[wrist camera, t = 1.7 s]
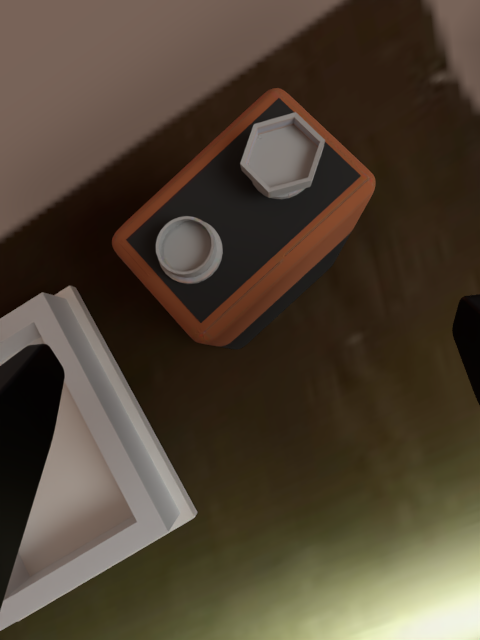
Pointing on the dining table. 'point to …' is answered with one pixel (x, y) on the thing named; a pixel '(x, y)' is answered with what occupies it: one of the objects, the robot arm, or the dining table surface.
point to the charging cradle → (87, 463)
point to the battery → (247, 222)
